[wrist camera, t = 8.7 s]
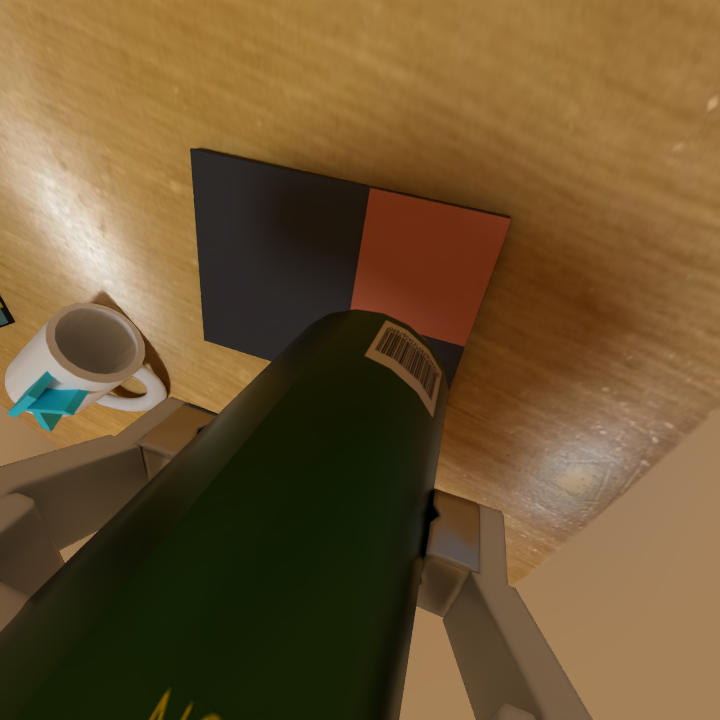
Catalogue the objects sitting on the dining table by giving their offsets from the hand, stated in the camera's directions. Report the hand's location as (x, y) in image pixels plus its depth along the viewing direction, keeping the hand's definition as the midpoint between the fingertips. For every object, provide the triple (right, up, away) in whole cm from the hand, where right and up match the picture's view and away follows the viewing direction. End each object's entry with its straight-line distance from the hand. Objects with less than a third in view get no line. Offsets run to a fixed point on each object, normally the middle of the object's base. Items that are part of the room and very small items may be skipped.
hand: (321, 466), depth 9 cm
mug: (-23, +2, +28) cm, 36 cm away
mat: (-1, +8, +17) cm, 19 cm away
